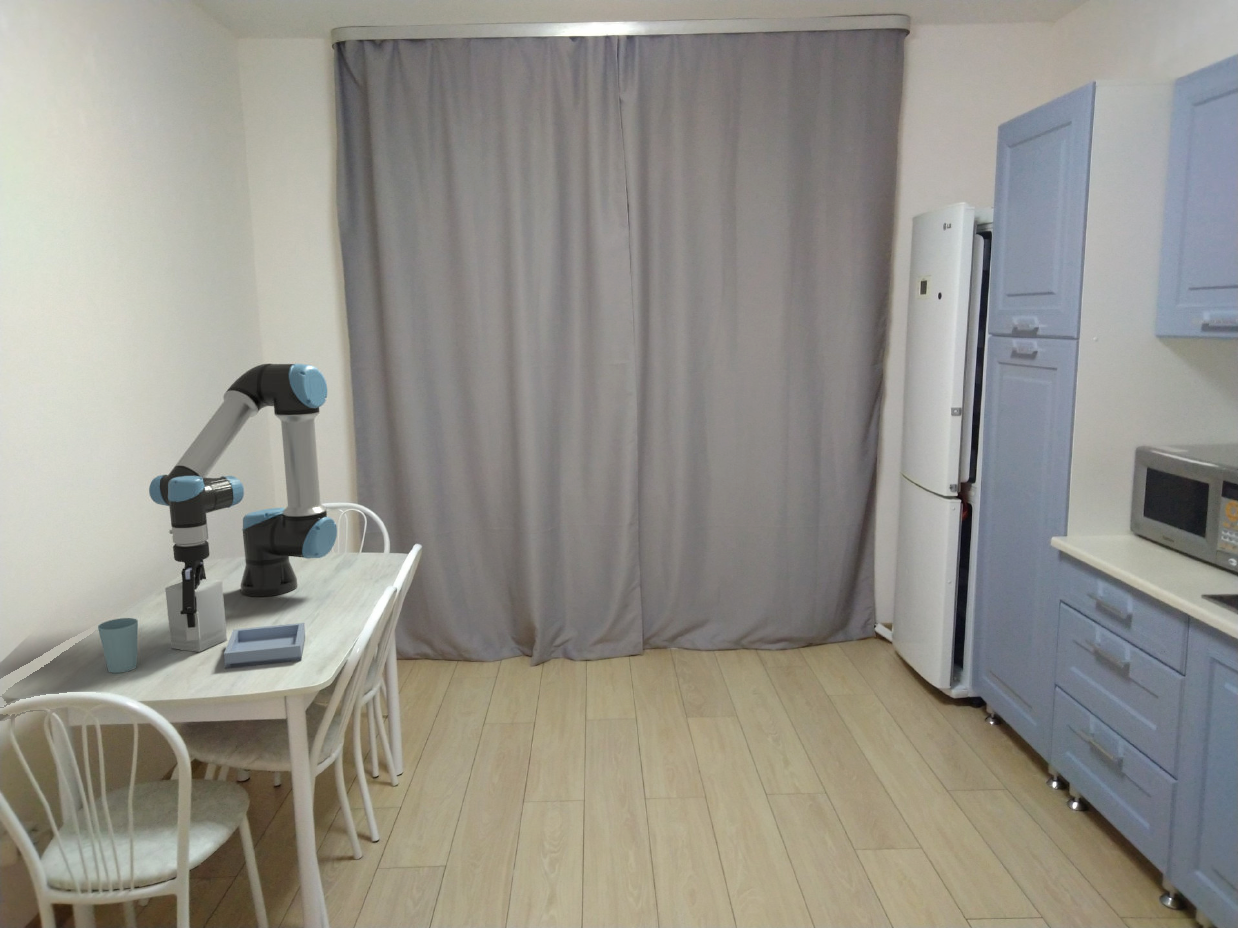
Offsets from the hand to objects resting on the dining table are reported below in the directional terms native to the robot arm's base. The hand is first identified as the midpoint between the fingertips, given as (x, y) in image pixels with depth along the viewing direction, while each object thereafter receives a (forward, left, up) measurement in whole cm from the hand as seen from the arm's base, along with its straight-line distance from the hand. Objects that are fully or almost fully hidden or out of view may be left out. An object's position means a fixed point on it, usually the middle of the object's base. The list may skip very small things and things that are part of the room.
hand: (198, 630), depth 209 cm
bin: (+10, +16, -3) cm, 19 cm away
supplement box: (0, 0, -4) cm, 4 cm away
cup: (+11, -14, -4) cm, 18 cm away
